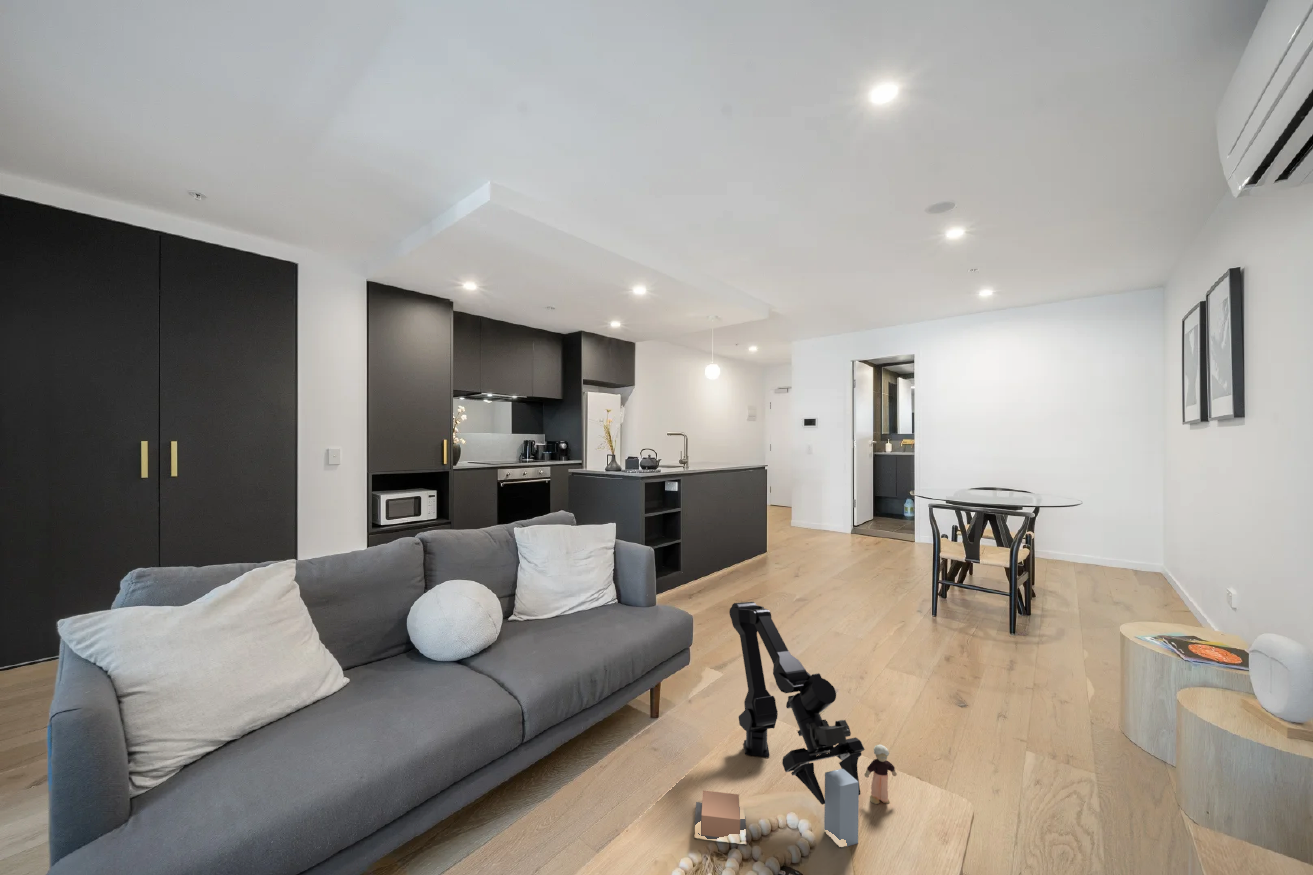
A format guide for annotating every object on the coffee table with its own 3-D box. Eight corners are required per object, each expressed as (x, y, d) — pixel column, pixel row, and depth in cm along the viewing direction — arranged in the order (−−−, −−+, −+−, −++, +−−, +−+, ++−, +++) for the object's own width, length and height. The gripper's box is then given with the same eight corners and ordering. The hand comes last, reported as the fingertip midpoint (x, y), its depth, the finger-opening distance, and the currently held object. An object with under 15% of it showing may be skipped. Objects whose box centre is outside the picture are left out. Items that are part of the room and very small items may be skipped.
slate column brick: (824, 831, 108) (825, 772, 108) (842, 827, 109) (843, 768, 110) (839, 848, 103) (840, 786, 104) (858, 843, 105) (858, 781, 105)
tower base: (696, 806, 115) (696, 783, 115) (744, 811, 113) (745, 789, 113) (693, 838, 105) (694, 814, 105) (747, 845, 103) (747, 820, 104)
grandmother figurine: (873, 807, 116) (873, 751, 116) (862, 796, 119) (862, 742, 120) (900, 802, 118) (901, 747, 118) (889, 792, 121) (889, 738, 122)
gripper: (790, 713, 109) (822, 797, 98) (858, 701, 116) (896, 779, 105) (770, 731, 116) (798, 812, 105) (835, 719, 123) (868, 794, 112)
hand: (841, 799), depth 107 cm, fingers open, 9 cm apart
